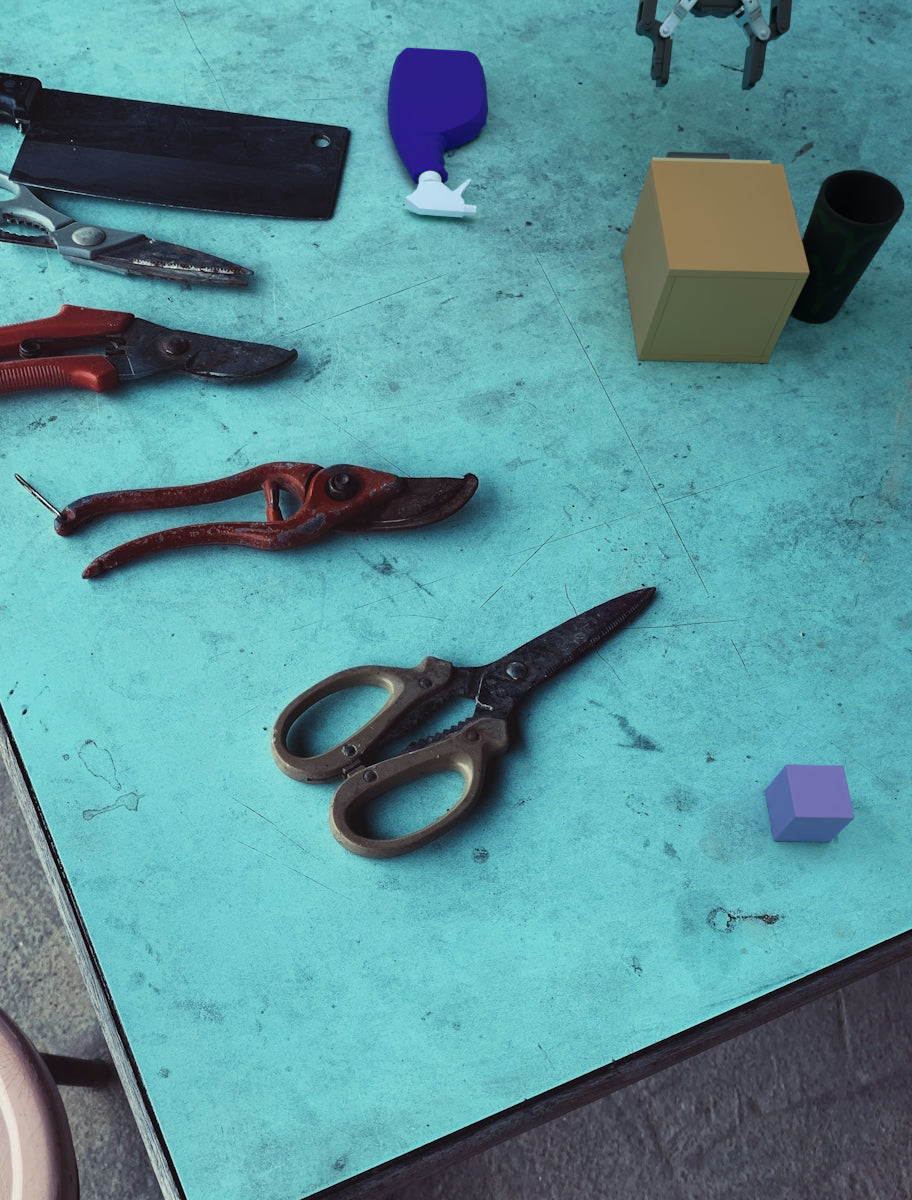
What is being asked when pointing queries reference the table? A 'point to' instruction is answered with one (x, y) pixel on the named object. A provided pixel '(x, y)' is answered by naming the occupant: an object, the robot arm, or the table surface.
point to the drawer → (704, 157)
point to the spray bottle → (435, 121)
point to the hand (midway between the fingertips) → (705, 87)
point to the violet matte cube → (809, 803)
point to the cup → (844, 239)
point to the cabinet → (713, 261)
